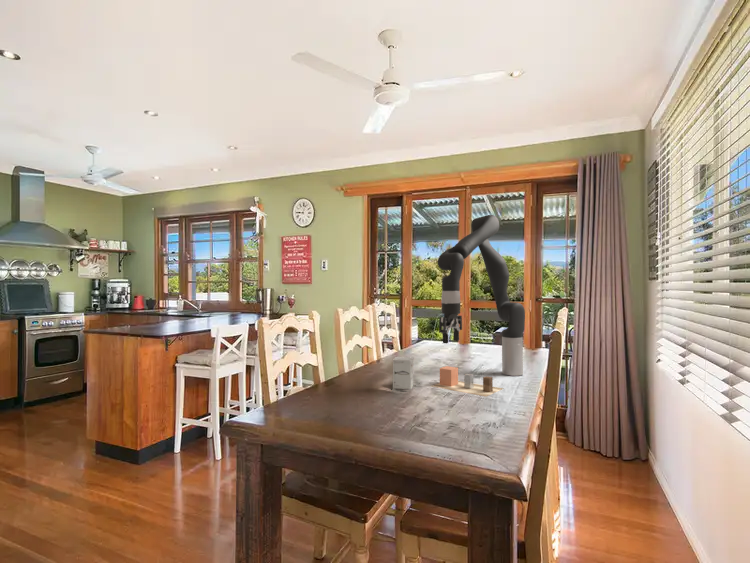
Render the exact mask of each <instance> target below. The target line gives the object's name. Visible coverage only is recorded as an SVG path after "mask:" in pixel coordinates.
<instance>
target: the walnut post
mask: <svg viewBox="0 0 750 563" xmlns="http://www.w3.org/2000/svg"><path fill="white" fill-rule="evenodd" d="M493 380H494V379H493V377H492V376H484V377H482V385H483V391H485V392H492V391H493V387H494V386H493V385H494V384H493Z"/></svg>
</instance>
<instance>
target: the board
mask: <svg viewBox="0 0 750 563" xmlns="http://www.w3.org/2000/svg"><path fill="white" fill-rule="evenodd" d="M473 386H474V388H471V389H468V388H464V381H461V380H458V384H457V385H454V386H446V385H440V382H438V383H435V384H433V385H431V388H438V389H444V390H448V391H449V390H450V391H454V392H457V393H464V394H465V393H466V394H469V395H476V396H480V397H485V398H487V397H490V396H491V395H494V394H495V393H497V392H499V391H503V389H504V388H503V387H496V386H493V391H492V392H485V391H483V384H480V383H475V382H473Z"/></svg>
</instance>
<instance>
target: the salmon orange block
mask: <svg viewBox="0 0 750 563" xmlns="http://www.w3.org/2000/svg"><path fill="white" fill-rule="evenodd" d="M458 381H459V367H455V366H446V365H445V366H443V367H440V368H439V383H440V385H446V386H454V385H457V384H458Z"/></svg>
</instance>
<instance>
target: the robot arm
mask: <svg viewBox="0 0 750 563" xmlns="http://www.w3.org/2000/svg"><path fill="white" fill-rule="evenodd" d="M470 226H471V231H472V232H471V233H469V234H468V235H466V236H463V237H462V238H461V239H460V240H459V241H458V242H457V243H455V245H454V246H452V247H450V248H449V249H447V250H445V251H443V252H442V253H441V254H440V255H439V257H438V258H437V265H438V268H439V269H441V270H443V271H450V273H449V275H446V276H444V277H442V279H441V299H440V300H441V313H442V315H444V316H440V317H439V320H438V322H439V324H438V326H439V327H438V332H439V333H441V334H442V344H449V332H450V330H451V329H452V332H453V337H452V338H453V339H452V340H453V341H454V342H459V341H460V331H462V330H463V321H462V320H463V317H462V315H459V314H461V292H460V289H461V288H460V287H461V286H460V281H461V278H462V274H463V269H464V264H465V259H467V258H469V256H470V255H471V253H473V252H474V251H475V250H476V248H478V249H479V251H480V254H481V256H482V259H483V260H482V261H483V263H484V266H485V270H486V273H487V276H488V280H489V282H490V286H491V290H492V293H493V295H494V300H495V306H496V311H497V314H498V317H499V318H500V320H502V321H503V322H507V323H508V327H507V328H506V329H503V330H502V331H501V371H502V372H501V373H502V375H505V376H512V377H517V376H523V375H524V361H523V360H524V345H523V344H524V339H523V338H524V337H523V336H524V332H525V323H526V322H525V320H526V311H525V307H524V306H523V304H522V303H519V302H513V301H510V299H509V298H510V297H509V295H508V284H509V280H510V271H509V268H508V265H507V261H506V260H505V258H504V257H503V256H502V255H501V254H500V253H499V252H498V251H497V250H496V249H495V248H494V247H493V246H492V245H491V243H490V240H489V238H491V237H493V236H494V235H496V234H497V233H498V232H499V231H500V221H499V218H497V216H495V215H494V214H486V215H483V216H480V217H479V216H478V217H476V218H473V219H472V221H471V225H470Z"/></svg>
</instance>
